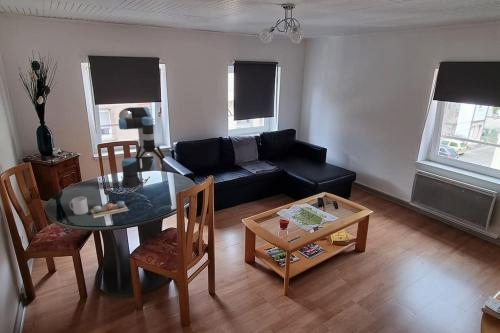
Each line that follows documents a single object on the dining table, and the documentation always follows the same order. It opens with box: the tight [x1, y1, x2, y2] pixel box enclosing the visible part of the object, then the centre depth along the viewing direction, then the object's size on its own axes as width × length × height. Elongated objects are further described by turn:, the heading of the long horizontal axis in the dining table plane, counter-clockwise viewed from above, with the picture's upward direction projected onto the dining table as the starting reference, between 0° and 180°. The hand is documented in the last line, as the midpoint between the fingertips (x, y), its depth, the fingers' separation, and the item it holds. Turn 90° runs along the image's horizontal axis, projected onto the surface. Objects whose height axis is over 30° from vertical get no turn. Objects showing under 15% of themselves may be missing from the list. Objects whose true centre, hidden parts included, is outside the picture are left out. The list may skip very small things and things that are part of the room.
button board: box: [90, 203, 130, 219], centre depth 213 cm, size 15×22×1 cm
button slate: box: [116, 200, 126, 209], centre depth 217 cm, size 5×5×4 cm
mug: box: [69, 195, 89, 216], centre depth 208 cm, size 9×12×11 cm
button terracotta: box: [104, 202, 114, 211], centre depth 213 cm, size 5×5×4 cm
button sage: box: [92, 204, 102, 214], centre depth 209 cm, size 5×5×4 cm
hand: (150, 167), depth 224 cm, fingers open, 13 cm apart
